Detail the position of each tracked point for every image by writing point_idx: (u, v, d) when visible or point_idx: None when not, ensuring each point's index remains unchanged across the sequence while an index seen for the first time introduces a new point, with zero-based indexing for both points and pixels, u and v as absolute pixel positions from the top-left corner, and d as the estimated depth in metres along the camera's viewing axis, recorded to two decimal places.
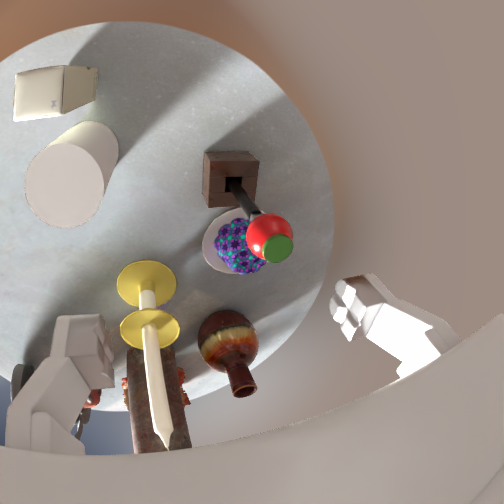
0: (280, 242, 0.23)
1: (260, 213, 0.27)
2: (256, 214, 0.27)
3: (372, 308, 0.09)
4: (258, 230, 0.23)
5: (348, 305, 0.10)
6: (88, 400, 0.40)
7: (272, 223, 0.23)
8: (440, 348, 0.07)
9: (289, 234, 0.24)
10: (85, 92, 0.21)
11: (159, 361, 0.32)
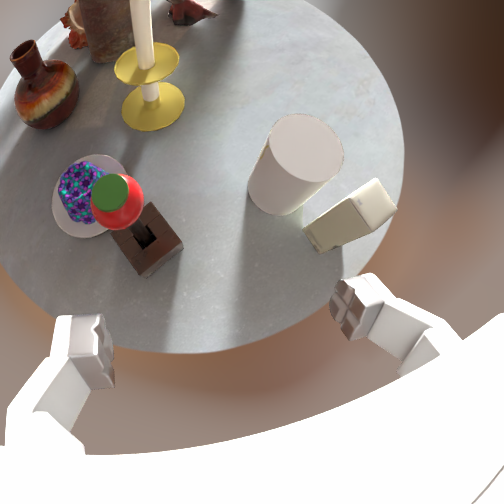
0: (113, 200, 0.17)
1: None
2: None
3: (372, 308, 0.09)
4: (139, 198, 0.18)
5: (348, 306, 0.10)
6: None
7: (130, 214, 0.18)
8: (440, 348, 0.07)
9: (105, 216, 0.17)
10: (324, 227, 0.33)
11: (138, 35, 0.23)
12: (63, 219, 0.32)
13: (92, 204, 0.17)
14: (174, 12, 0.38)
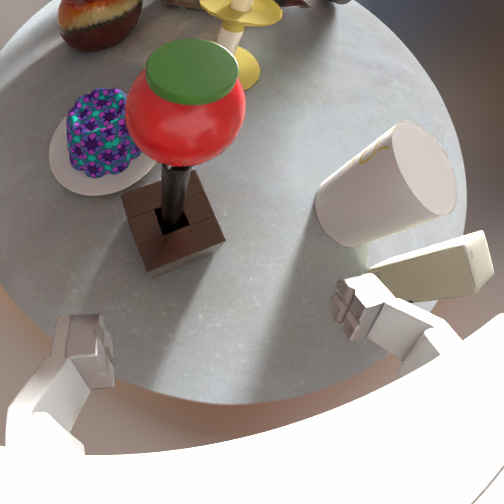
0: (198, 80, 0.06)
1: (173, 168, 0.12)
2: None
3: (372, 308, 0.09)
4: (243, 111, 0.08)
5: (348, 306, 0.10)
6: None
7: (217, 132, 0.08)
8: (440, 348, 0.07)
9: (160, 112, 0.07)
10: (405, 275, 0.24)
11: None
12: (60, 161, 0.22)
13: (137, 84, 0.07)
14: None
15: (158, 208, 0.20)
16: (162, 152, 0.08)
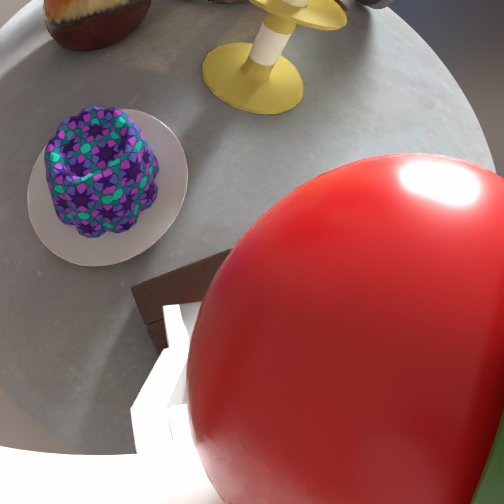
0: None
1: None
2: None
3: None
4: None
5: None
6: None
7: None
8: None
9: None
10: None
11: None
12: (42, 209, 0.16)
13: None
14: None
15: None
16: None
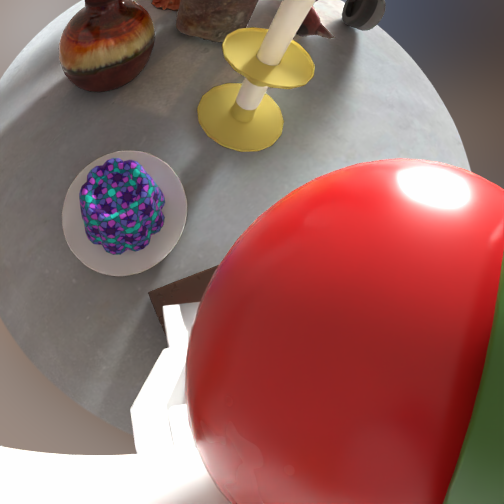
0: None
1: None
2: None
3: None
4: None
5: None
6: None
7: None
8: None
9: None
10: None
11: (288, 11, 0.15)
12: (75, 231, 0.22)
13: (325, 489, 0.01)
14: None
15: None
16: None
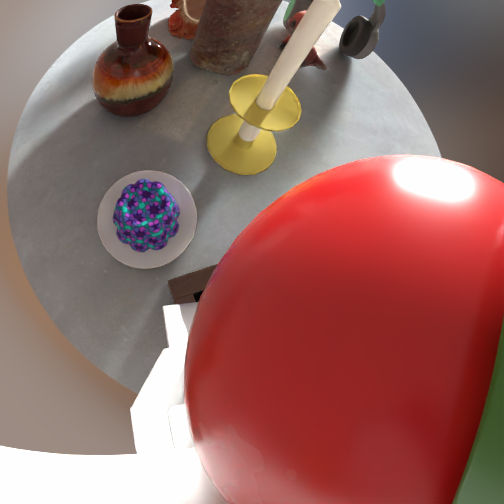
0: None
1: None
2: None
3: None
4: None
5: None
6: None
7: None
8: None
9: None
10: None
11: (280, 71, 0.23)
12: (107, 232, 0.30)
13: (329, 494, 0.01)
14: None
15: (195, 292, 0.28)
16: None
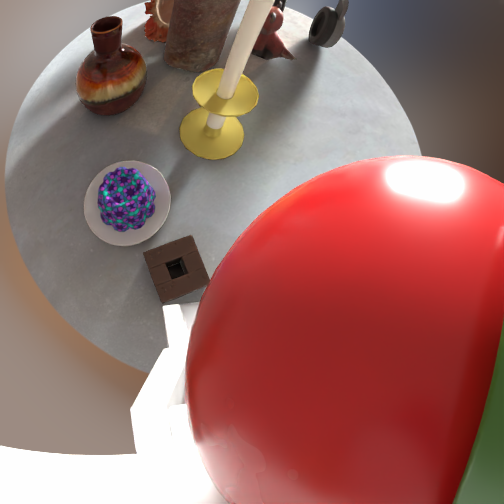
0: None
1: None
2: None
3: None
4: None
5: None
6: (275, 15, 0.36)
7: None
8: None
9: None
10: None
11: (232, 63, 0.26)
12: (93, 216, 0.33)
13: (330, 494, 0.01)
14: (256, 41, 0.43)
15: (168, 262, 0.31)
16: None
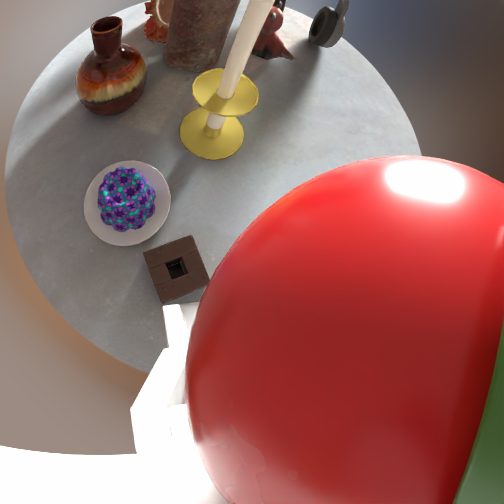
0: None
1: None
2: None
3: None
4: None
5: None
6: (275, 15, 0.36)
7: None
8: None
9: None
10: None
11: (232, 63, 0.26)
12: (93, 216, 0.33)
13: (330, 494, 0.01)
14: (256, 41, 0.43)
15: (168, 262, 0.31)
16: None
